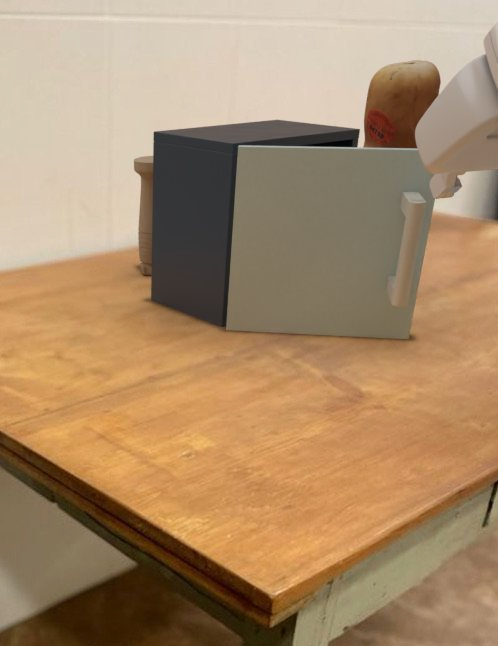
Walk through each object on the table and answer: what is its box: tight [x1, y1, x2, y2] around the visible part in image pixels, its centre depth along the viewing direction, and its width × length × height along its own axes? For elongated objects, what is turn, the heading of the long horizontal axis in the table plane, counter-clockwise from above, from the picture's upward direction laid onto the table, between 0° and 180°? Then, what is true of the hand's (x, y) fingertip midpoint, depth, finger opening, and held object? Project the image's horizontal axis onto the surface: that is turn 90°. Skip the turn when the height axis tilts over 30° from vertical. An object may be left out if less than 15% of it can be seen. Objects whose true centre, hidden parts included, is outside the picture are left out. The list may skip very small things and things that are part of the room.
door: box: [225, 145, 436, 340], centre depth 84 cm, size 7×20×20 cm, turn 81°
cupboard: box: [150, 119, 361, 328], centre depth 98 cm, size 13×20×20 cm, turn 127°
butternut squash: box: [363, 59, 441, 148], centre depth 136 cm, size 14×13×25 cm
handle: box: [133, 155, 153, 276], centre depth 111 cm, size 5×6×15 cm
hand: (487, 187), depth 68 cm, fingers open, 8 cm apart
